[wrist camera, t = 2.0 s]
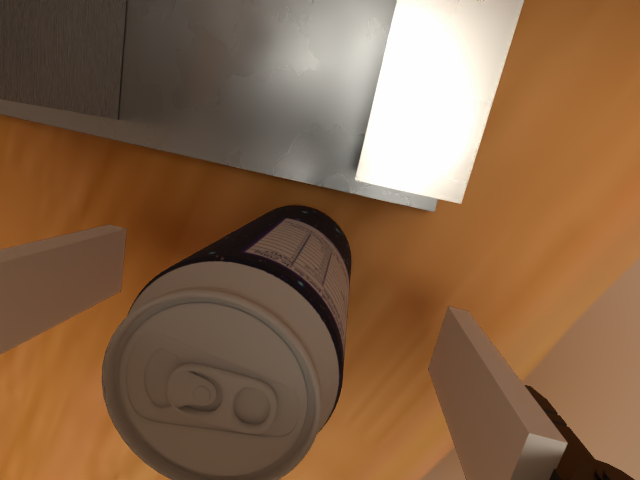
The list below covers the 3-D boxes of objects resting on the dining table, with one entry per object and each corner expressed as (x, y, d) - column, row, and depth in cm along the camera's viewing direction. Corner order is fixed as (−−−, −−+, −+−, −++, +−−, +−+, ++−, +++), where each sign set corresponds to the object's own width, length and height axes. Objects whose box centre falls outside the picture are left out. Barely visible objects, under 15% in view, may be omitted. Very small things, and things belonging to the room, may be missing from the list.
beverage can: (258, 192, 19) (91, 243, 7) (362, 217, 18) (369, 312, 7) (240, 290, 20) (76, 470, 8) (338, 315, 20) (308, 536, 8)
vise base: (-8, -106, 17) (-332, -342, 9) (493, -12, 16) (633, -193, 8) (-7, 110, 19) (-264, 74, 11) (429, 208, 18) (485, 246, 10)
